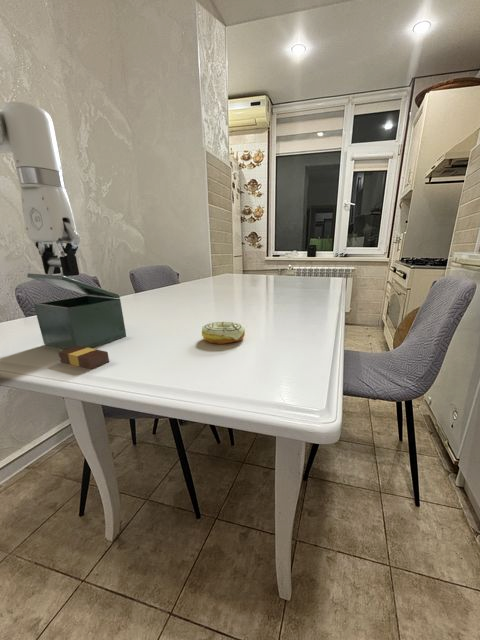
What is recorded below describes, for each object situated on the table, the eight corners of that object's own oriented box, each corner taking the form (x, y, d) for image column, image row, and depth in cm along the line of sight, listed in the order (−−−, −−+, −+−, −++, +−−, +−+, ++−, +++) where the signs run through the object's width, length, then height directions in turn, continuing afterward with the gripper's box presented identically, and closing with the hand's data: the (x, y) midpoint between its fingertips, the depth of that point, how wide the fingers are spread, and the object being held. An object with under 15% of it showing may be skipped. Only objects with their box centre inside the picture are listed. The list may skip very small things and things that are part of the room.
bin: (78, 352, 64) (68, 308, 61) (44, 344, 69) (33, 303, 65) (126, 336, 75) (120, 298, 72) (94, 330, 80) (87, 295, 77)
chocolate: (60, 361, 59) (57, 351, 58) (80, 355, 63) (78, 345, 62) (90, 369, 55) (88, 358, 55) (109, 361, 59) (107, 351, 58)
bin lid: (62, 279, 59) (67, 254, 59) (26, 277, 63) (31, 253, 64) (119, 298, 72) (123, 277, 72) (86, 294, 76) (90, 275, 77)
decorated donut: (245, 345, 69) (245, 329, 68) (200, 346, 68) (199, 331, 67) (244, 332, 79) (243, 318, 78) (204, 333, 78) (203, 319, 77)
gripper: (-4, 181, 58) (20, 274, 65) (49, 174, 52) (70, 278, 58) (37, 188, 65) (55, 271, 71) (88, 182, 58) (104, 275, 64)
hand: (62, 273), depth 64 cm, fingers closed on bin lid, 5 cm apart
